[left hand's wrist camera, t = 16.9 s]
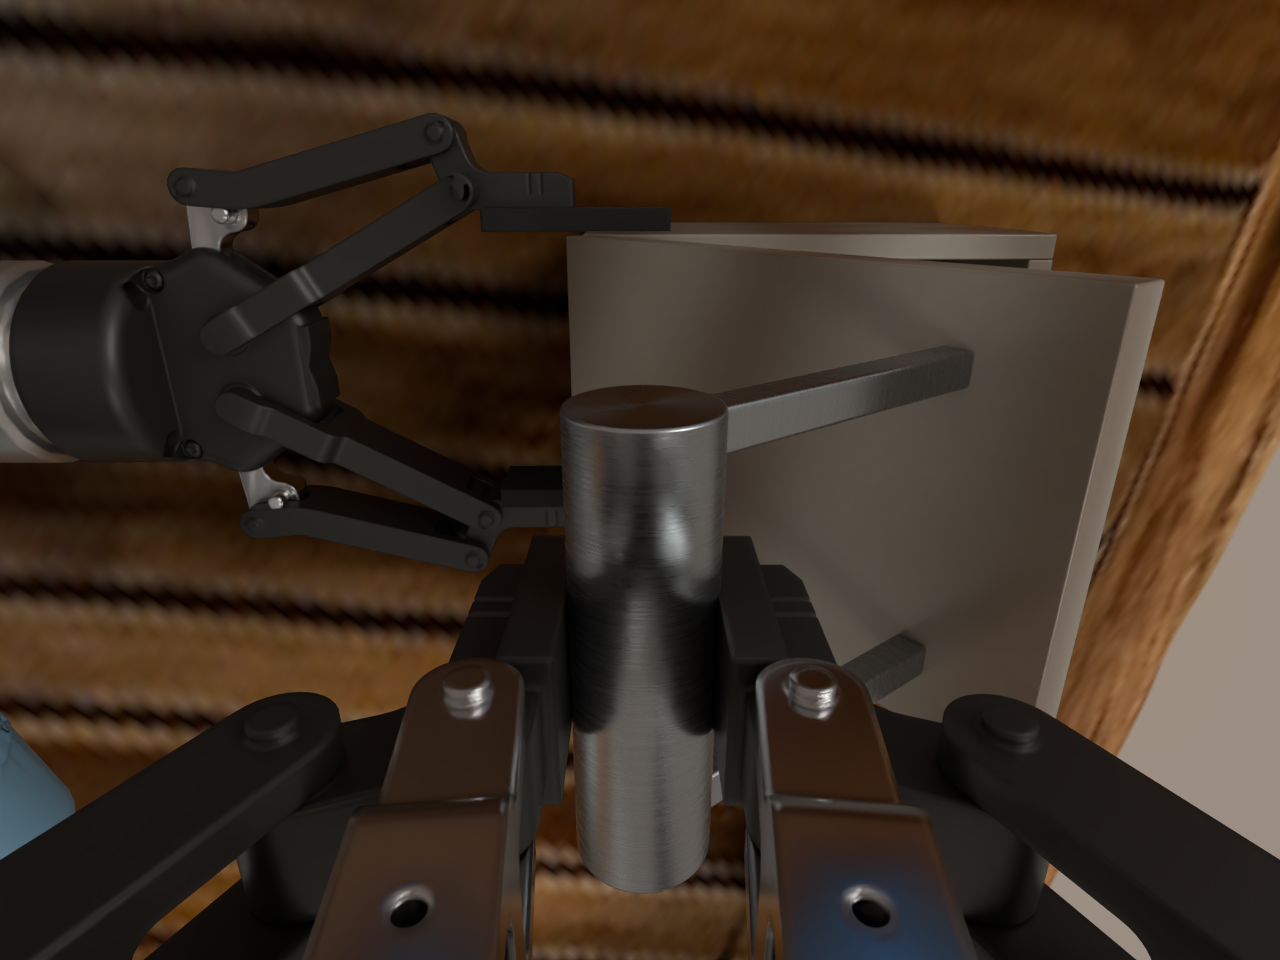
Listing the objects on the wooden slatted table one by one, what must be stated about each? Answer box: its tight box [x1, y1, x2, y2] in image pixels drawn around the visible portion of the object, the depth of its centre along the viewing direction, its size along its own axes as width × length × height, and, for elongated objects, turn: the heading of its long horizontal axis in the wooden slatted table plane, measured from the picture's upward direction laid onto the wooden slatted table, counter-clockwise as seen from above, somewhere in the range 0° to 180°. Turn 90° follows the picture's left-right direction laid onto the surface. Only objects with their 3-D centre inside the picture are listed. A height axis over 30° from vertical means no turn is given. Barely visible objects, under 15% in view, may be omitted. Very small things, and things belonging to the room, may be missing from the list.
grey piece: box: [560, 235, 1164, 894], centre depth 17 cm, size 16×10×9 cm
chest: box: [583, 222, 1057, 270], centre depth 30 cm, size 15×10×10 cm, turn 90°
